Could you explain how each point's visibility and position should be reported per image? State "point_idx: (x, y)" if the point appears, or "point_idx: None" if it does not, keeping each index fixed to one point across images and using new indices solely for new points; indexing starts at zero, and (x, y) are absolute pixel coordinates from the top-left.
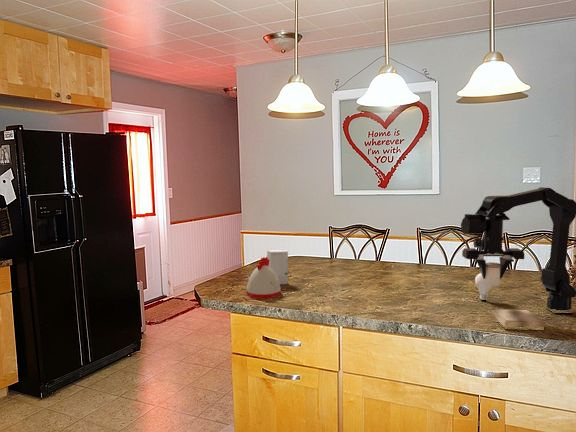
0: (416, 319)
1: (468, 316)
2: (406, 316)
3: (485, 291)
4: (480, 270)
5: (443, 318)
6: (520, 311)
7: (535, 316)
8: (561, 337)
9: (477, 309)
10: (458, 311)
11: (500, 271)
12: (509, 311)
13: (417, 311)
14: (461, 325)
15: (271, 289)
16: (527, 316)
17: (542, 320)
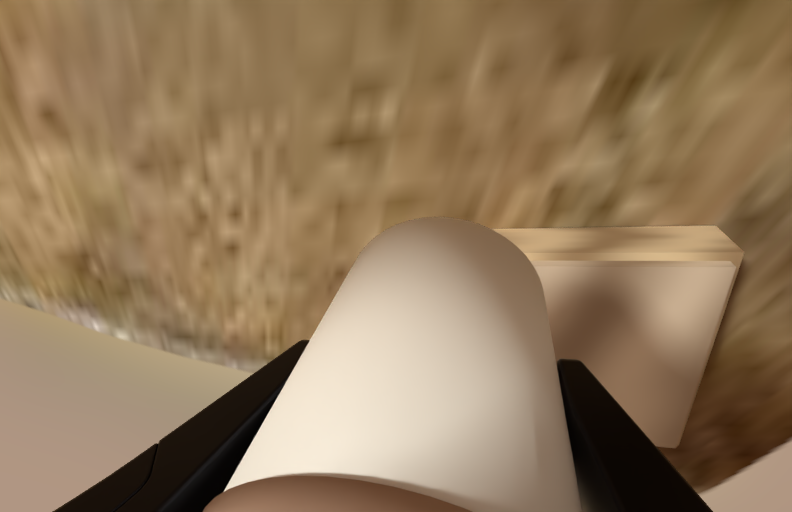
0: (86, 272)
1: (317, 212)
2: (31, 233)
3: None
4: (199, 423)
5: (192, 253)
6: (643, 301)
7: (683, 390)
8: (684, 470)
9: (402, 29)
10: (261, 110)
11: (584, 510)
12: (555, 303)
13: (41, 142)
14: (277, 340)
15: None
16: (625, 387)
17: (675, 443)
